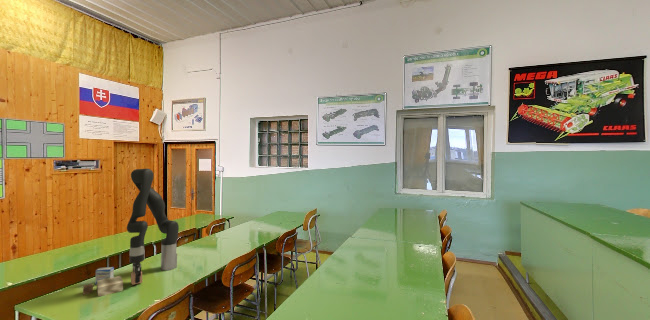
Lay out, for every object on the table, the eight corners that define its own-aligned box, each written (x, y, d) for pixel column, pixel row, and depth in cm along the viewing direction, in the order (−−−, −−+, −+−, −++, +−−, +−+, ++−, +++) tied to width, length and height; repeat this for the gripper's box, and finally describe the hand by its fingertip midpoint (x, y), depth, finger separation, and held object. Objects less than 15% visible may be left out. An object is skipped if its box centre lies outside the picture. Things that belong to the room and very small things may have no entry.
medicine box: (94, 284, 163) (95, 270, 163) (98, 281, 167) (99, 267, 167) (110, 283, 165) (110, 269, 165) (113, 280, 169) (114, 266, 169)
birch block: (120, 283, 165) (120, 275, 165) (122, 290, 157) (123, 281, 157) (96, 289, 157) (97, 280, 157) (98, 296, 149) (98, 287, 149)
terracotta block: (140, 279, 169) (140, 270, 169) (142, 282, 166) (142, 272, 166) (131, 282, 166) (131, 272, 166) (132, 284, 162) (132, 274, 162)
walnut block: (92, 290, 156) (92, 283, 156) (92, 293, 153) (92, 285, 153) (83, 292, 154) (83, 285, 154) (83, 295, 151) (83, 288, 151)
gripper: (146, 255, 163) (146, 283, 163) (142, 249, 173) (141, 275, 173) (131, 258, 158) (131, 287, 158) (127, 251, 168) (127, 278, 168)
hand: (136, 280), depth 166 cm, fingers closed on terracotta block, 5 cm apart
